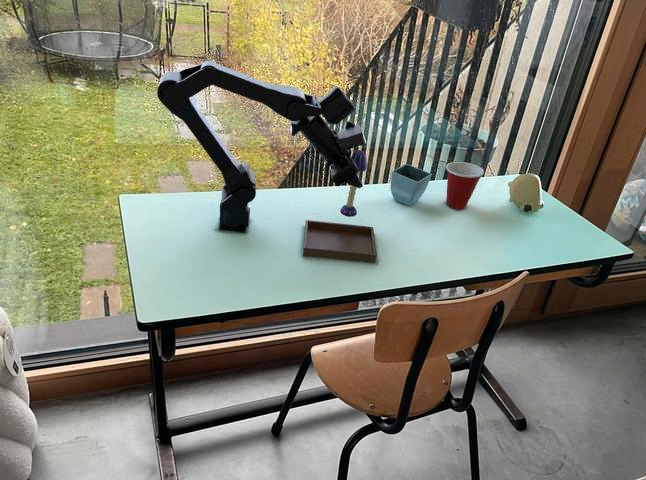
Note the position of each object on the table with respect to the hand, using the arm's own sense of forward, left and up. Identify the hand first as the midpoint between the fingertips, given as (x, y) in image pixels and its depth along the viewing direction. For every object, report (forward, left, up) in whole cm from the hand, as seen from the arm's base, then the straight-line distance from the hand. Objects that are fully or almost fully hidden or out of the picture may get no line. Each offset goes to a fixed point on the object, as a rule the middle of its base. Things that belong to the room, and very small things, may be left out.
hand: (359, 183), depth 139 cm
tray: (-4, -8, -13) cm, 16 cm away
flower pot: (+16, +20, -13) cm, 29 cm away
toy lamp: (-1, 0, -9) cm, 9 cm away
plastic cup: (+31, +21, -13) cm, 40 cm away
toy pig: (+53, +25, -13) cm, 61 cm away
